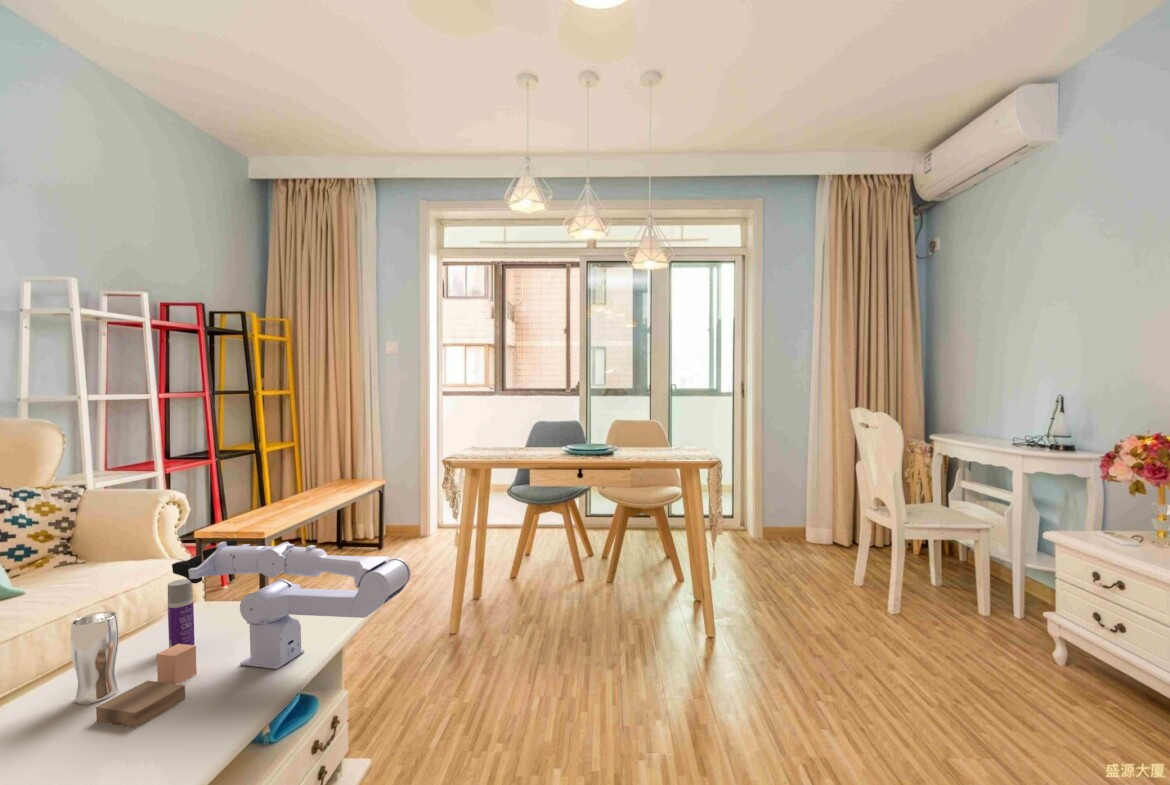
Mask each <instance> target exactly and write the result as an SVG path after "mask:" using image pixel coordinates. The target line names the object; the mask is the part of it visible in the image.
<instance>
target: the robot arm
mask: <svg viewBox="0 0 1170 785" xmlns="http://www.w3.org/2000/svg"><path fill="white" fill-rule="evenodd" d="M316 547H317V546H316V545H314V544H311V545H307V546H306V547H303V546H295V544H292V543H290V542H289V541H284V542H281V543H280V544H279V545H278V544H277V545H276V546H275V545H268V546H267V545H266V546H265V545H253V546H251V544H250V543H247V544H246V543H245V544H244V543H243V544H240V545H238V542H237V540H236V539H232V540H229V541H227V542H226V541H220V542H219V543H217V545H216V546H214V547H210V548H207V549H204V550H202V554H198V555H196V556H194V557H191V558H190V559H187V560H181V561H176V562H174V563H172V564H171V567H172V574H175V575H178V576H180V577H184V579H188V580H189V581H190V582H191V583H192V584H199V583H201V582H202V581H203V577H216V576H217V577H218V576H225V575H238V574H239V575H243V574H244V575H245V574H247V575H249V574H250V575H251V574H252V575H253V574H255V575H256V574H262V575H263V576H265V577H267V578H268V577H269V578H270V579H274V578H276V577H278V576H279V575H280V574H285V575H293V576H302V577H312V578H316V577H319V576H320V575H321V574H322V573H329V574H333V575H340V576H346V577H352V578H353V582H354V587H355V589H358V590H354V589H328V588H304V587H303V588H301V585H300V584H299V583H292V582H290V581H289V580H287V579H281V578H280V579H276V580H275V581H273V582H272V583H269V584H268V585H266V586H264V587H263V588H260V589H258V590H256V591H254V592H252V593H247V594H246V595H245V596H244V597H243V598H242V599H241V600H240V603H239V612H240V615H241V617H242V618H243V619H244V621H246V624H247V625H249V646H250V647H249V648H250V649H249V650H250V656H249V657H246V658H245V659H244V660H242V661H240V662H239V663H240V665H241V666H248V667H256V668H265V669H274V670H276V669H279V668H281V667H283V666H284V665H285V664H287V663H289V662H291V661H292V660H293V659H295V658H296V657H298V656H300V655H301V654H302V653H305V649H304V648H302V629H301V628H302V627H301V623H300V621H299V620H298V619H296V618H293V617H291V616H290V615H294V616H314V617H315V616H316V617H335V618H338V617H339V618H359V619H364V618H367V617H369V616H371V614H372V613H375V611H377V610H378V609H380V608H381V607H382V606H384V605H385V604H386V603H388V602H389V601H391V600H392V599H393V598H395V597H396V596H397V595H399V594H400V593H401V592H403V590H404V589H405V587H406V585H408V583H409V581H410V579H411V574H412V573H411V568H410V566H409V564H408V563H407V561H405V560H403V559H401V558H399V557H393V558H391V559H390V556H385V555H384V556H383V555H381V556H380V555H378V556H377V555H376V556H358V555H356V556H355V555H333V554H331V555H330V554H327V552H326V551H325V549H323V548H316ZM202 557H203V560H202ZM388 559H389V560H388Z"/></svg>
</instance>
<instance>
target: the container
mask: <svg viewBox="0 0 1170 785" xmlns="http://www.w3.org/2000/svg"><path fill="white" fill-rule="evenodd" d="M193 592H194V591H193V583H191V582H190V581H189V580H188V579H187V578H182V579H177V580H173V581H171V582H169V583H167V624H168V625H167V627H168V648H170V647H173V646H175V645H177V644H186V645H195V644H196V643H195V613H194V610H195V609H194V608H195V607H194V593H193ZM195 646H196V645H195Z"/></svg>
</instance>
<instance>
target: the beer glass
mask: <svg viewBox="0 0 1170 785" xmlns="http://www.w3.org/2000/svg"><path fill="white" fill-rule="evenodd" d="M70 627H71V628H70V638H69V640H70V641H69V643H70V648H69V649H70V655H71V659H72V664H73V666H74V671H75V674H76V678H77V691H76V695H75V703H76V704H77V705H83V706H84V705H91V704H95V703H98V702H102V701H104V700H106V699H109V698H110V697H112V696H114V695H115V694H116V693H117V692H118V690H119V687H118V684H117V680H116V674H115V670H116V667H115V666H116V661H117V656H118V651H119V642H120V632H119V631H120V630H119V623H118V614H117V612H116V611H112V610H111V611H109V610H108V611H99V612H94V613H89V614H86V615H84V616H81V617H78V618H76V619H74V620H73V621H72V622H71V623H70Z"/></svg>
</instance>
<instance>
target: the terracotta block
mask: <svg viewBox="0 0 1170 785" xmlns="http://www.w3.org/2000/svg"><path fill="white" fill-rule="evenodd" d="M156 669H157V670H156V672H157V682H163V683H170V684H179V683H181V682H182V683H184V682H186V681H187V680H186V679H188V678H190V677H191V678H193V677H194V676H193V675H195V674H197V672H198V671H197V646H196V645H195V646H194V645H186V644H177V645H175V646H173V647H170V648H169V647H168V648H166V649H165V650H162V651H159V652H158V653H156ZM197 675H198V674H197ZM192 676H193V677H192ZM195 676H196V675H195ZM191 678H190V679H191ZM185 680H186V681H185ZM188 680H189V679H188ZM183 681H184V682H183ZM182 683H181V684H182ZM179 685H180V684H179Z"/></svg>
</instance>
